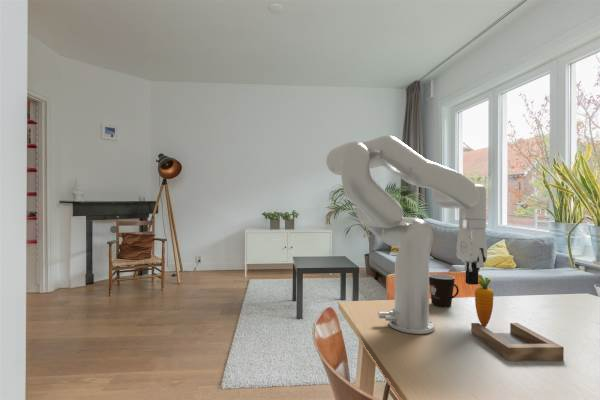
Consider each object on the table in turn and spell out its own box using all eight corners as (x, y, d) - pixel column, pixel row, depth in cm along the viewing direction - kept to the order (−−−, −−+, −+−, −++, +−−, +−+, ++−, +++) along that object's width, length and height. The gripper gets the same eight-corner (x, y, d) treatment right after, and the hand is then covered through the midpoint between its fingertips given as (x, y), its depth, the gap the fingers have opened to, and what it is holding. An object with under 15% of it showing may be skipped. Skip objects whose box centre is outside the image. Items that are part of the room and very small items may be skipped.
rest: (508, 360, 79) (508, 347, 79) (471, 334, 95) (471, 323, 95) (563, 360, 80) (563, 347, 80) (517, 333, 95) (517, 322, 96)
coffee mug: (425, 300, 127) (426, 273, 127) (450, 301, 126) (450, 274, 126) (433, 310, 116) (433, 280, 116) (460, 311, 114) (460, 281, 114)
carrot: (496, 331, 97) (496, 277, 97) (477, 329, 98) (477, 277, 98) (490, 325, 102) (490, 274, 102) (472, 323, 103) (472, 273, 103)
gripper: (448, 223, 114) (448, 278, 114) (473, 226, 99) (473, 290, 99) (471, 223, 115) (470, 278, 115) (498, 226, 100) (498, 290, 100)
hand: (471, 283), depth 107 cm, fingers closed
